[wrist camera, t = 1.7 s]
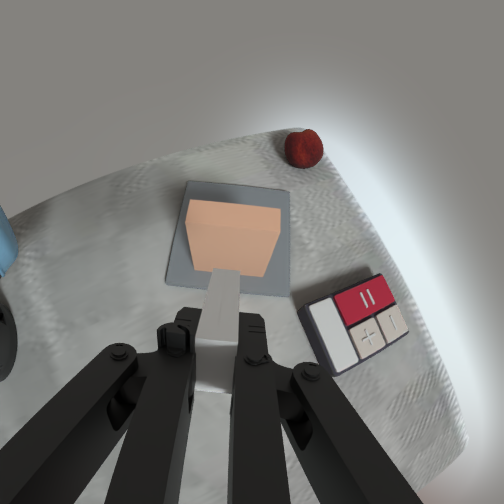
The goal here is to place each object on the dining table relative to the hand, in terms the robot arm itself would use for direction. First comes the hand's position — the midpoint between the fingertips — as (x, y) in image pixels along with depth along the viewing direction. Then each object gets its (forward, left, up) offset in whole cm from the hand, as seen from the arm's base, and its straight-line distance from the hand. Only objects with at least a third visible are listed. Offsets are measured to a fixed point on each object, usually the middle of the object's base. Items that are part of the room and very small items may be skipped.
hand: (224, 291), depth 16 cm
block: (+1, +12, -23) cm, 25 cm away
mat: (+1, +17, -23) cm, 29 cm away
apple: (+14, +34, -24) cm, 44 cm away
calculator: (+20, +2, -24) cm, 31 cm away
